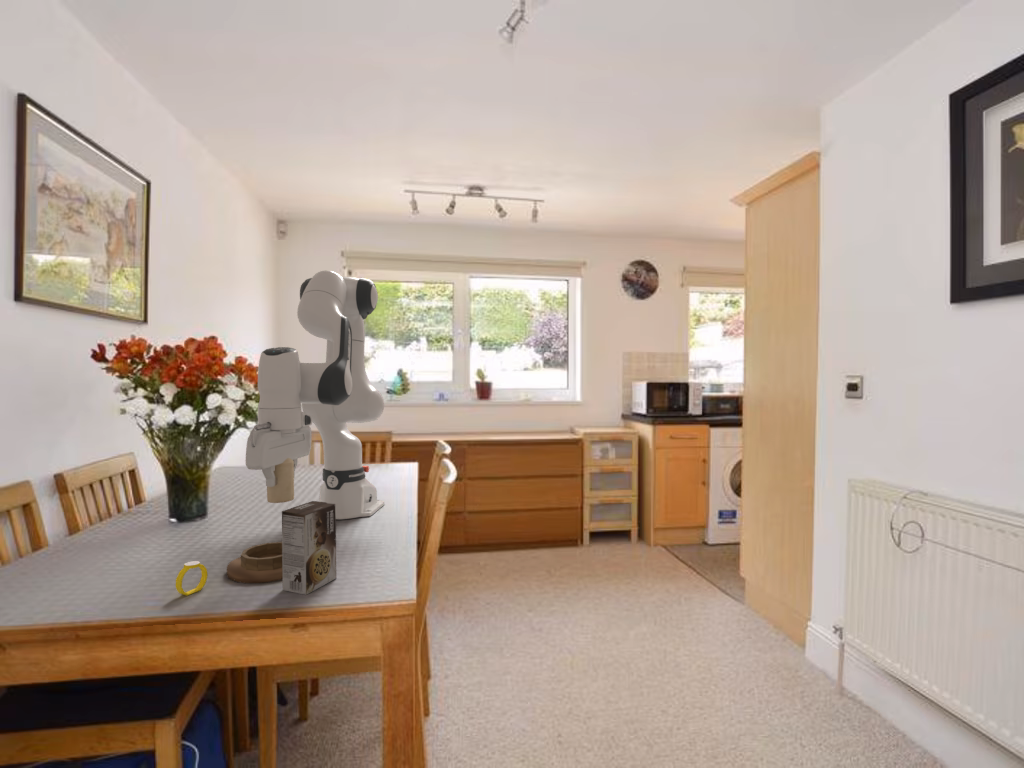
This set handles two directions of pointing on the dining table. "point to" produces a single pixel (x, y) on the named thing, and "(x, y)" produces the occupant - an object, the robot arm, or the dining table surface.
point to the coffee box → (308, 546)
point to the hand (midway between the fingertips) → (280, 482)
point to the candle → (282, 483)
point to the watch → (181, 574)
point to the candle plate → (252, 575)
